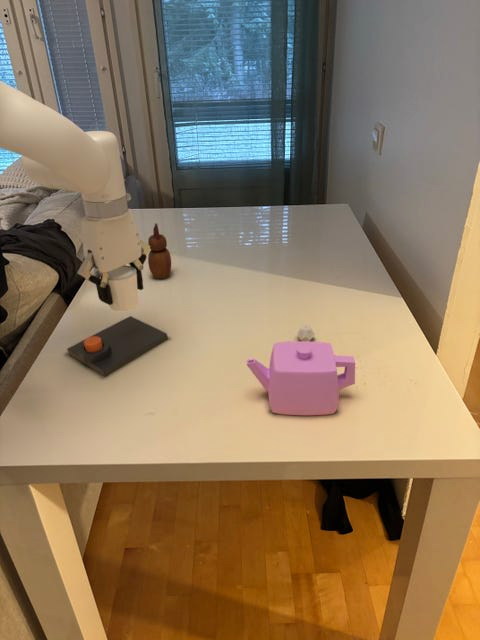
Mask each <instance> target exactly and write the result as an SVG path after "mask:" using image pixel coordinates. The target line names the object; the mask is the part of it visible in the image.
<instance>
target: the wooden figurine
mask: <svg viewBox="0 0 480 640" xmlns="http://www.w3.org/2000/svg"><path fill="white" fill-rule="evenodd" d="M152 229H153V231H152V232H153V234H152V235H150V236H149V237H148V241H147V244H148V245H150V249H149V252H148V254H147V256H148V257H147V262H148V268H149V271H150V273H151V275H152V277H153V278H155V279H159V280H160V279H161V280H163V279H166V278H168V277H169V276H170V275H171V272H172V256H171V253H170V251H169V249H168V248H167V246H168V244H167V239H166V236H165V235H164V234H160V231H159V225H158V223H154V226H153V228H152Z"/></svg>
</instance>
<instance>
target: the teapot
mask: <svg viewBox="0 0 480 640" xmlns="http://www.w3.org/2000/svg"><path fill="white" fill-rule="evenodd" d="M246 366H247V368H248V369H249V370H250V371H251V373H252V374H253V375H254V377H255V378H256V379H257V381H258V382H259V384H260V385H261V386H262V387H263V389H265V391H266V392H267V394H268V401H269V402H268V404H269V407H270V411H271V412H272V413H274V414H279V415H288V416H289V415H290V416H325V415H333V414H335V413H336V411H337V410H338V407H339V401H340V390H343V389H345V388H348V387H350V386H353V385H355V384H356V360H355V357H354V355H335V353H334V349H333V346H332V344H331V343H330V342H324V341H309V342H308V341H301V340H299V341H295V340H293V341H277V342H274V344H273V346H272V350H271V354H270V359H269V366H268V367H266V366H265V365H264V364H262V363H261V362H259V361H258V360H257V359H256V358H250V359H246ZM338 368H344V371H343V372H342V373H340V374H338Z"/></svg>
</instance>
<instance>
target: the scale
mask: <svg viewBox="0 0 480 640" xmlns="http://www.w3.org/2000/svg"><path fill="white" fill-rule="evenodd" d="M93 336H97V337H100V338H101V341H102V346H103V347H102V349H101V350H99V351H96V352H87V351H86V349H85V345H84V341H85V340H86V339H87V338H85V339H83V340H81V341H79V342H77V343H75V344H74V345H71V346H69V347H67V353H68V355H69V356H71V357H72V358H74V359H76V360H77V361H79V362H80V363H82V364H83V365H85V366H87V367H88V368H90V369H91V370H93V371H95V372H96V373H98V374H100V375H101V376H103V377H107V376H108V375H110V374H112V373H114V372H115V371H117V370H119V369H120V368H122V367H124V366H126V365H127V364H129V363H130V362H132V361H134V360H135V359H138V358H139V357H140V356H141V355H144V354H145V353H147V352H148V351H150V350H152V349H153V348H155V347H157V346H159V345H161V344H162V343H164V342H165V341H167V340H168V339H169V338H168V337H169V336H168V333H167V332H165V331H163V330H160V329H159V328H157V327H155V326H152V325H150V324H148V323H145V322H144V321H142V320H140V319H137V318H135V317H133V316H131V315H129V316H128V317H125V318H124V319H122V320H120V321H118V322H116V323H114V324H112V325H110V326H108V327H106V328H105V329H102V330H100V331H98V332H97V333H94V334H93V335H90V337H93Z"/></svg>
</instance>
